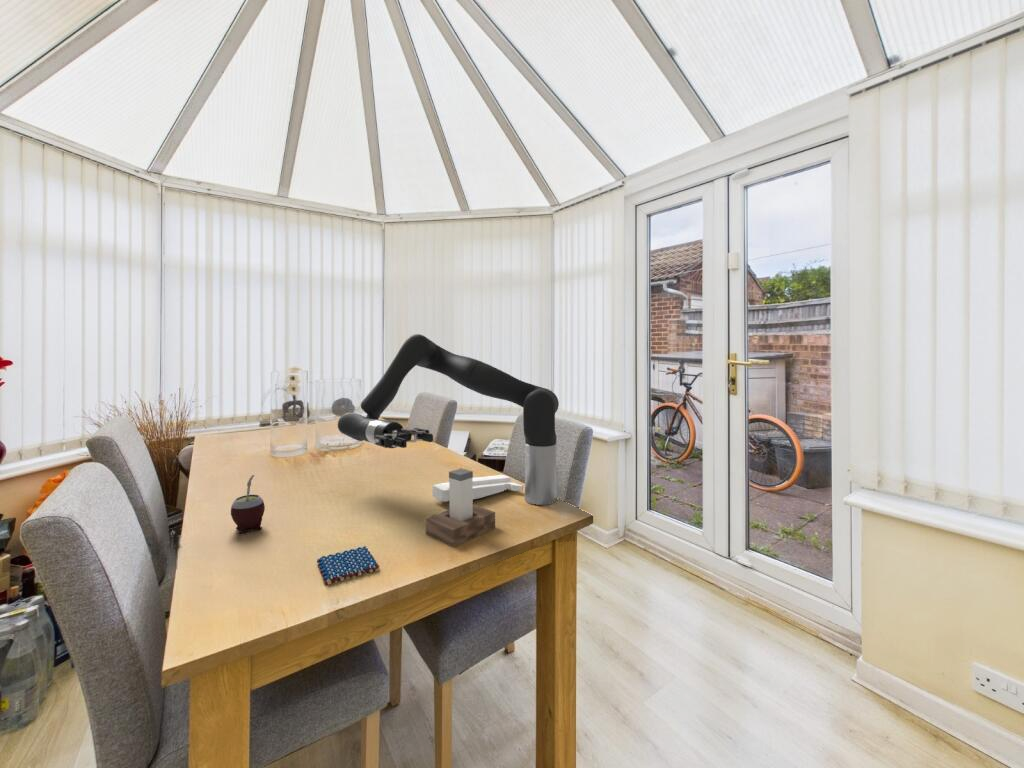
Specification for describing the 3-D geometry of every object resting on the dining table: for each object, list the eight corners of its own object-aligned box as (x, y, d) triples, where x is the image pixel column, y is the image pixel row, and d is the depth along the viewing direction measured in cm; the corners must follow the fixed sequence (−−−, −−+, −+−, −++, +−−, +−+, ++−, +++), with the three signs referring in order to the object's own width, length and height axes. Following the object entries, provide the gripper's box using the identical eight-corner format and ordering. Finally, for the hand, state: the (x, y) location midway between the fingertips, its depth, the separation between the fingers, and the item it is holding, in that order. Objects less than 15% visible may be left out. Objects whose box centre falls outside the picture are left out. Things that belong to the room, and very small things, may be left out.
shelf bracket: (523, 479, 129) (498, 470, 139) (455, 492, 113) (432, 481, 123) (522, 497, 130) (497, 486, 139) (454, 512, 113) (431, 499, 123)
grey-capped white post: (461, 521, 106) (461, 468, 105) (472, 526, 103) (472, 471, 102) (449, 527, 103) (448, 471, 102) (460, 531, 100) (460, 475, 99)
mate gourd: (244, 523, 107) (241, 466, 106) (274, 523, 107) (272, 466, 106) (223, 536, 100) (220, 474, 99) (256, 536, 100) (253, 475, 98)
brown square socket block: (467, 516, 112) (467, 502, 112) (495, 527, 105) (495, 512, 105) (425, 534, 101) (425, 518, 101) (453, 547, 95) (453, 530, 94)
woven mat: (381, 573, 85) (381, 563, 85) (325, 589, 79) (324, 579, 79) (367, 552, 93) (367, 543, 93) (316, 565, 88) (315, 556, 87)
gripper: (361, 423, 115) (395, 431, 104) (405, 417, 126) (439, 423, 115) (362, 450, 116) (396, 460, 105) (405, 441, 126) (440, 449, 116)
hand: (419, 440), depth 110 cm, fingers open, 8 cm apart
